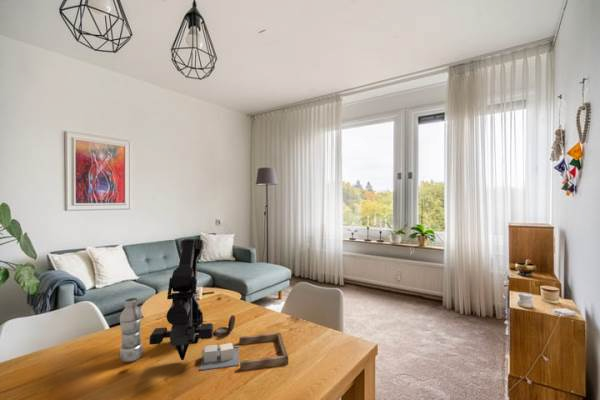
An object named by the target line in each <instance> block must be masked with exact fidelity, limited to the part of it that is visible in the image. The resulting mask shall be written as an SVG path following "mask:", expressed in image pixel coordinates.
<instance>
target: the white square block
mask: <svg viewBox="0 0 600 400" xmlns="http://www.w3.org/2000/svg"><path fill="white" fill-rule="evenodd" d="M233 346H234V345H233V343H232V342H228V343H222V344H219V348H220V359H221V361H225V360H230V359H233Z"/></svg>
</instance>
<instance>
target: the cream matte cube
mask: <svg viewBox="0 0 600 400" xmlns="http://www.w3.org/2000/svg"><path fill="white" fill-rule="evenodd" d="M218 348H219V345H218V344H212V345H211V344H210V345H205V347H204V349H205V351H204V363H208V362H216V361H217V356H218Z"/></svg>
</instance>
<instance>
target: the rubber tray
mask: <svg viewBox="0 0 600 400" xmlns="http://www.w3.org/2000/svg"><path fill="white" fill-rule="evenodd" d="M232 346H233V359H230V360H225V361H221V359H220V347H218V356H217V361H216V362H208V363H204V351H205V348H204V349H203V350H202V351H203V353H202V357H201V361H200V367H199V371H207V370H215V369H224V368H231V367H238V366H239V367H240V359H239V358H240V357H239V353H240V352H239V345H232Z"/></svg>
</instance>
